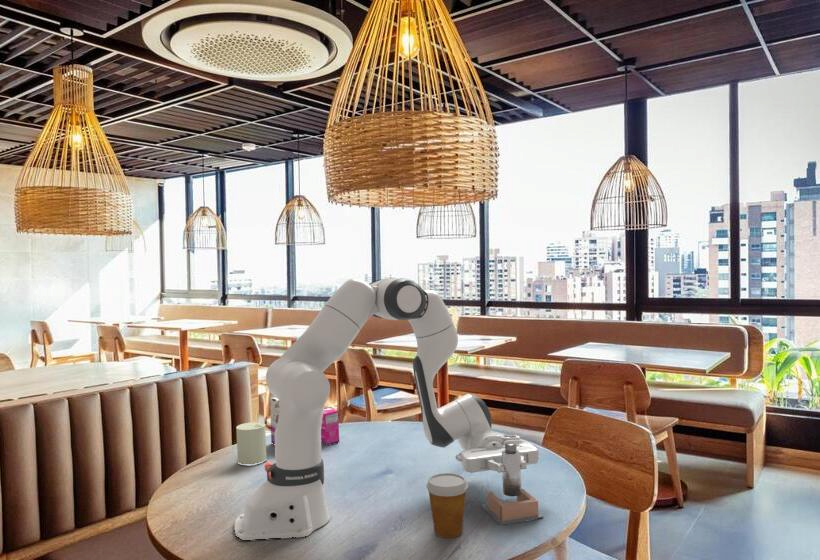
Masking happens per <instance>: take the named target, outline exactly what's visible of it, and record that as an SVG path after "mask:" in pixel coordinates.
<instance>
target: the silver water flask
mask: <svg viewBox="0 0 820 560" xmlns="http://www.w3.org/2000/svg"><path fill="white" fill-rule="evenodd" d="M502 464H503V465H504V467H505V468H504V470H505V471H504V472H501V476H502V477H501V478H502V479H501V480H502V493H503V495H505V496H507V497H517V496H519V495H521V488H522V474H521V473H522V471H521V470H522V469H521V462H520V451H518V450H517V448H516V443H505V450H503V451H502Z"/></svg>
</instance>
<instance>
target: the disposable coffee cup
mask: <svg viewBox="0 0 820 560" xmlns="http://www.w3.org/2000/svg"><path fill="white" fill-rule="evenodd" d="M468 488H469V485H468V482H467V479H466V477H465V476H463V475H461V474H459V473H453V472H443V473H442V472H441V473H437V474H433V475H431V476H430V477H428V479H427V483H426V490H427V491H428V495H429V502H430V509H431V516H432V522H433V530H434V534H436V536H438V537H441V538H447V539H452V538H456V537H459V536H460V535H462V534H463V528H464V527H463V524H464V515H465V505H466V497H467V496H466V495H467V491H468V490H467V489H468Z"/></svg>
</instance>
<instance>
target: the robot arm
mask: <svg viewBox="0 0 820 560" xmlns="http://www.w3.org/2000/svg"><path fill="white" fill-rule="evenodd" d="M372 316H373V317H375V318H379V319H385V320H389V321H408V322H409V324H410V325H411V329H412V331H413V334H414V336H415V339H416V345H417V347H416V348H417V349H416V355H415V357H414V358H413V359H412V369H413V376H414V382H415V387H416V392H417V396H418V401H419V407H420V411H421V420H422V421H421V422H422V427H423V428H422V429H423V432H424V435H425V437H426V440H427V441H428V442H429V443H430V445H432V446H435V447H439V448H443V449H444V448H446V447H447V446H450V445H451V444H452V443H454V442H455V441H456V440H457V443H458V444H459V446H460V447H461V449H462V451H460V452H459V453H458V454H456V455H455V459H456V461H458V462H460V465H461V467H462V469H463V470H464V471H465V472H466V473H471V474H472V473H477V472H479V473H480V472H486V471H495V472H497V473H498V474H499V473H501V474H502V472H504V471H505V470H504V468H505V467H504V465H503V464H502V451H503V450H505V443H516V448H517V450H518V451H520V462H521V470H526V469H527V465H535V464H538V463H539V461H540V454H539V451H540V450H539V449H538V448H537V447H536V446H535V445H533V444H532V443H530V442H528V441H526V440H523V439H521V437H520V435H515V434H502V433H501V434H500V433H494V432H492V431H491V429H492V425H493V423H492V421H493V420H492V419H493V418H492V415H491V412H490V410H489V408H488V405H487V404H486V402H485V401H484V400H483V399H482V398H480V397H479V396H477V395H476V394H472V393H467V394H465V395H462V396H460V397H458V398H456V399H454V400H453V401H451V402H449V403H447V404H445V405H443V406H441V407H438V406H437V400H436V395H435V391H434V379H435V377H436V374H437V373H438V372H439V371H440V370H441V368H442V367H443V366H444V365H445V364H446V363H447V362H448V361H449V360H450V359H451V357H452V356H453V355H454V353H455V351H456V350H457V347H458V343H459V339H458V338H459V337H458V332H457V329H456V326H455V323H454V321H453V318H452V316H451V314H450V312H449V310H448V307H447V306H446V304H445V301H444V300H443V298H442V297H441V296H440V294H439V293H438V292H437V291H436V290H433V289H423V288H422V287H421V286H420V285H419V284H418V283H417V282H415V281H414V280H411V279H409V278H405V277H400V278H398V277H388V278H383V279H381V278H380V279H376V280H374V281H372V282H370V283H368V282H367V281H365V280H363V279H360V278H350V279H348V280H347V281H345V282H343V284H342V285H341V286H340V287H339V288H338V289H336V291H335V292H334V293H333V294H332V295H331V296H330V298H329V299H328V300H327V302H325V303H324V305H323V307H322V308H321V310H319V312H318V314H317V315H316V317H315V318H314V319H313V321H312V322H311V323H310V325H309V326H308V327H307V328H306V329H305V330H304V332H302V334H301V335H300V336H299V338H298V339H296V340H295V341H294V342H293V343H292V344H291V345H290V346H289V347H288V348H287V349H286V350H285V351H284V352H283V354H282V355H280V357H279V358H277V359H275V361H273V362H272V363H271V364H270V365H269V367H267V370H266V373H265V383H266V386H267V388H268V391H269V392H270V393H271V395H272V396H273V398H274V397H276V398H277V399H278V400H279V404H280V411H279V418H278V424H277V428H276V430H275V445H274V456H275V458H274V461H275V462H274V463H272V462H271V461H266V462H265V463H264V470H265V472H266V479H267V480H265V482H263V484H261V485H260V486H259V487H258V488H257V489H255V490H254V491H253V492H251V493H250V494H249V495H248V498H247V499H246V502H245V505H244V508H243V509H244V510H243V513H241V514H240V515H238V517H237V518H236V519H235V521H234V528H233V531H234V530H235V532H234V535H235V534H236V535H237V537H239V538H240V539H242V540H250V539H266V540H268V539H267V538H281V539H291V538H292V537H294V538H295V537H296V538H305V536H306V537H308V536H309V535H311V534H312V533H313V532H314V531H315V530H317V529H320V528H321V527H323V526H325V525H326V524H327V523H328V522H329V521H330V519H331V514H330V511H329V508H328V505H327V501H326V495H325V486H324V484H325V464H324V460H323V458H322V444H321V425H322V418H323V412H324V409H325V406H326V403H327V401H328V400H329V398H330V396H331V395H330V394H331V383H330V381H329V378H328V377H327V375H326V374H325V373H324V372H325V371H326V370H327V369H328V367H330V366H331V365H332V364H333V363H334V362H336V361H337V360H339V359H341V358H342V357H343V356H344V354H346V352H347V350H348V349H349V348H350V346H351V345H352V343H353V341H354V340H355V339H356V338H357V336H358V335H359V333H360V331H361V330H362V328H363V327H364V325H365V324H366V322H367V321H369V319H370V318H371V317H372ZM236 535H235V536H236ZM237 537H236V538H237ZM296 538H295V539H296ZM240 539H239V540H240ZM292 539H293V538H292ZM242 540H241V541H242Z"/></svg>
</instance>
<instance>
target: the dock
mask: <svg viewBox="0 0 820 560" xmlns="http://www.w3.org/2000/svg"><path fill="white" fill-rule="evenodd" d="M486 502H487V503H484V504H482V505H481V507H482V508H483V509H484V510H485V511H486V513H488V514H489V515H490V516H491V517H492V518H493V519H494V520H495V521H496V522H497V523H498V524H499V525H500V526H505V525H511V524H517V523H522V521H524V522H528V521H527V520H530V521H534V520H533V519H536V520H539V519H538V518H542V519H544V515H542V514H541V513H540V512H539V500H538V499H536V498H535V497H534V496H532V495H531V494H530V493H529V492H527V491H526V490H525V489H524V488H523V487H521V495H519V496H516V499H512V500H511V499H509V500H504V501H502V500H501V498H499V497H498V496H497V495H495V493H494V492H493V491H489V492H486Z"/></svg>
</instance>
